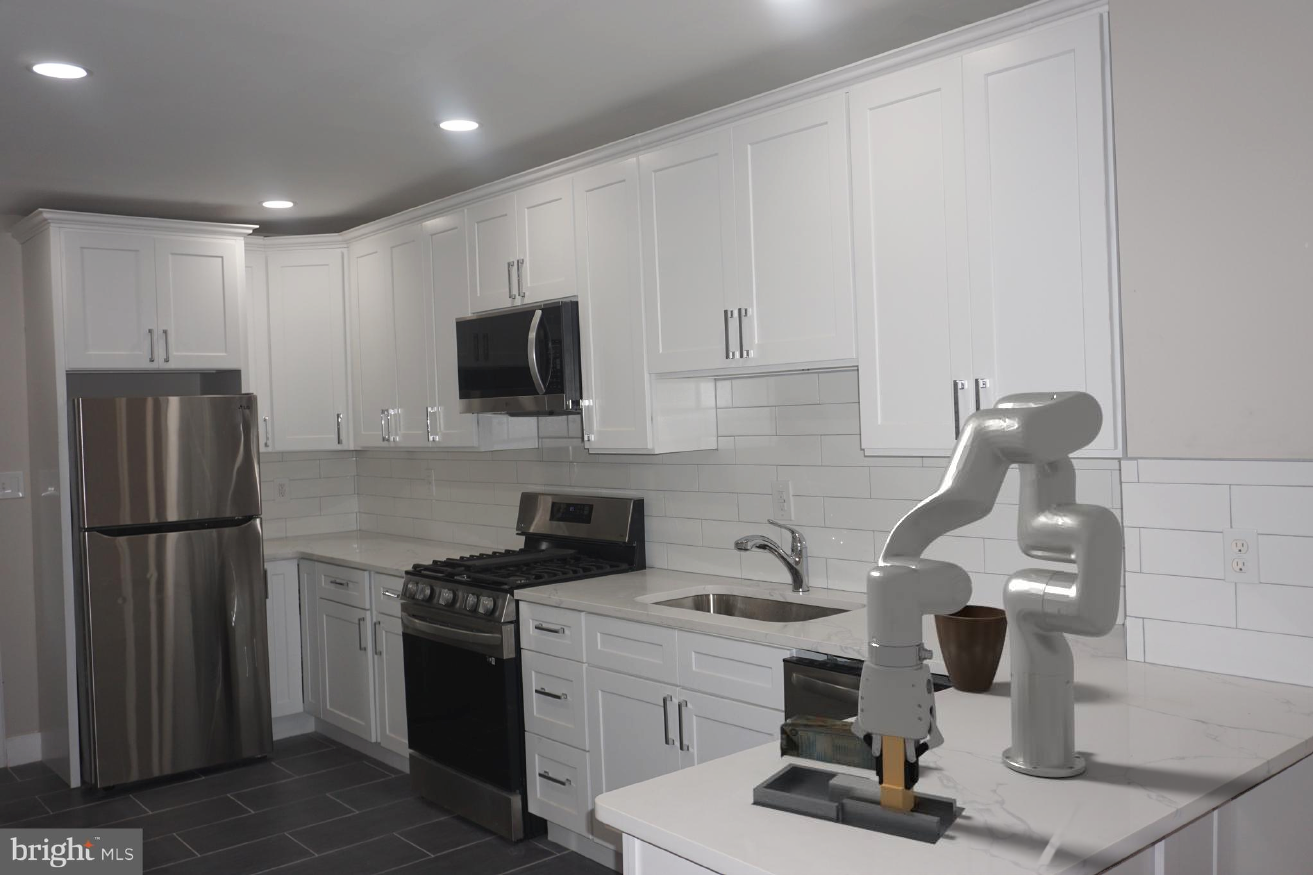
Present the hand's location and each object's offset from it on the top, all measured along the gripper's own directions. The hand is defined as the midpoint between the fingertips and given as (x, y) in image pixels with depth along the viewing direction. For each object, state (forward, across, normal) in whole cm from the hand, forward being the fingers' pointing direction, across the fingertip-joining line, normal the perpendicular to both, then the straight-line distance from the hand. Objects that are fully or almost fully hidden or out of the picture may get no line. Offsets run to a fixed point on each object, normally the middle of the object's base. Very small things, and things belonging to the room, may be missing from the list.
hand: (897, 783), depth 140 cm
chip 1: (+4, +8, 0) cm, 9 cm away
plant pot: (+6, +10, -73) cm, 74 cm away
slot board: (+5, +6, 0) cm, 8 cm away
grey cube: (+4, +4, 0) cm, 6 cm away
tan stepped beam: (+4, 0, 0) cm, 4 cm away
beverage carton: (+6, +16, -19) cm, 25 cm away
